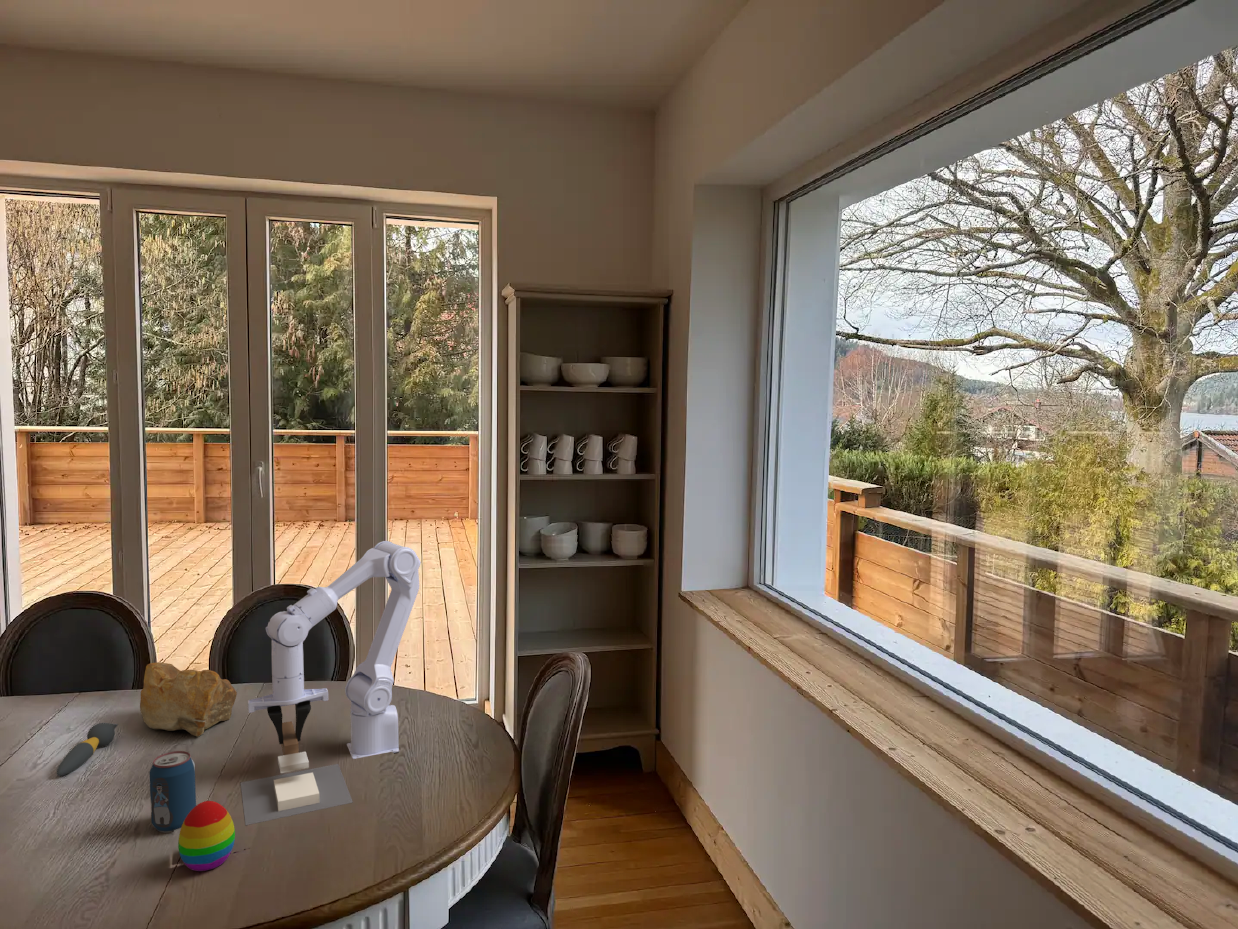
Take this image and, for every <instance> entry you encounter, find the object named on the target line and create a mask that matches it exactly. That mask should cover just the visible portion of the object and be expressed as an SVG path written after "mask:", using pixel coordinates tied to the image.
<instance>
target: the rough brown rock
mask: <svg viewBox="0 0 1238 929" xmlns="http://www.w3.org/2000/svg"><path fill="white" fill-rule="evenodd" d="M237 695H238V693H237V690H236V689H235V688H234V686H233V685H232V683H231V682H230V680H228V679H225V678H224V679H222V678H221V677H220V675H219V673H217V672H216V671H214V670H210V669H203V670H197V669H184V670H180V669H179V668H177V667H176V666H175V665H173V663H167V662H159V661H157V662H150V663H148V664H146V666H145V671H144V677H143V688H142V689H141V690H140V701H139V710H140V714H141V716H142V720H143V723H144V724H145V725H146V726H147V727H148V728H149V729H152V730H153V729H154V730H165V731H169V732H172V731H179V730H185V731H186V732H187V733H189V734H190V735H192V736H194V737H200V736H202V735H203V734H204V733H205V730H208V729H209V728H211V727H213V726H215V725H216V724H218V723H219V722H223V721H228V720H230V718H231V716H232V710H233V707H234V705H235V701H236V698H237Z"/></svg>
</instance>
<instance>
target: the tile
mask: <svg viewBox="0 0 1238 929" xmlns="http://www.w3.org/2000/svg"><path fill="white" fill-rule="evenodd" d="M274 792H275V797H276V802H277V807H278V811H282V810H287V809H292V808H297V807H301V806H306V805H311V804H316V803H319V791H318V787H317V784H316V781H315V778H314V774H313V772H312V773H307V774H302V775H297V776H291V777H286V778H281V779H276V780H274Z"/></svg>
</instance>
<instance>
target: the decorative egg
mask: <svg viewBox="0 0 1238 929" xmlns="http://www.w3.org/2000/svg"><path fill="white" fill-rule="evenodd" d="M232 818H233V817H232V816H231V814H230V812H228V810H227V809H226V808H225V807H224V806H223V805H222V804H220V803H218V802H216V801H213V800H205V801H202V802H200V803H198V804H196V806H195V807H194V808H193V809H192V810H191V811H190V813H189V814H188V815H187V817H186V818H185V820H184V822H183V824H182V827H181V828H180V830H179V835H178V840H177V841H178V842H177V843H178V844H177V847H178V853H179V856H180V858H181V860H182V862H183V863H184V865H185V866H186V867H187V868H188V869H190V870H192V871H196V872H204V871H205V872H206V871H209V870H213V869H215V868H218V867H220V866H221V865H222V864H224V863H225V862H226V860H227V859H228V857H229V856H230V854H231V853H232V850H233V849H234V846H235V840H236V831H235V830H236V829H235V823H234V821H233V819H232Z"/></svg>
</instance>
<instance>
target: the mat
mask: <svg viewBox="0 0 1238 929" xmlns="http://www.w3.org/2000/svg"><path fill="white" fill-rule="evenodd" d="M312 772H313V774H314V778H315V781H316V784H317V787H318V791H319V803H316V804H311V805H306V806H301V807H297V808H292V809H287V810H282V811H278V807H277V802H276V797H275V792H274V780H276V779H281V778H286V777H291V776H297V775H302V774H307V773H312ZM348 788H349V787H348V785H347V783H346V781H345V777H344V775H343V773H342V770H341V767H340V765H339V763H335V764H330V765H326V766H325V765H324V766H319V767H315V768H307V769H302V770H297V771H291V772H286V773H281V774H278V775H273V776H267V777H261V778H258V779H257V778H256V779H251V780H246V781H242V782H240V790H241V799H242V800H241V801H242V807H243V813H244V814H243V816H244V824H245V826H249V825H255V824H258V823H264V822H267V821H268V822H269V821H274V820H277V819H283V818H287V817H291V816H292V817H293V816H297V815H301V814H305V813H310V812H311V813H312V812H315V811H320V810H324V809H325V810H326V809H330V808H333V807H338V806H343V805H347V804H352V803H354V801H353V799H352V796H351V793H350V791H349V789H348Z"/></svg>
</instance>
